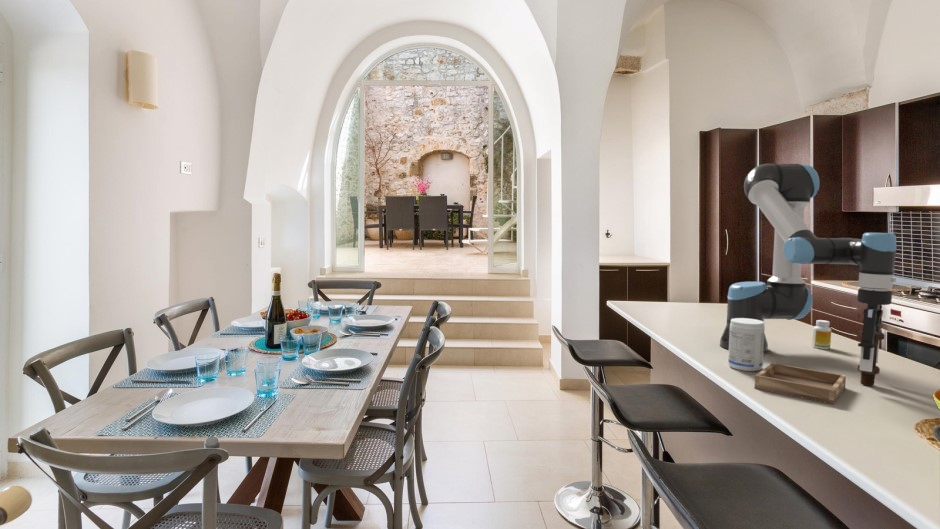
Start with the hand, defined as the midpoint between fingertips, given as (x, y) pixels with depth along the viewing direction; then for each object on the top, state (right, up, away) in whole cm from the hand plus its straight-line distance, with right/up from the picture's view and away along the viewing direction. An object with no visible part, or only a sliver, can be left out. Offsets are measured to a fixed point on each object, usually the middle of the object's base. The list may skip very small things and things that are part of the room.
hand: (868, 366), depth 150 cm
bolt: (0, -5, 0) cm, 5 cm away
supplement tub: (-26, -4, +16) cm, 31 cm away
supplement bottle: (+15, -2, +43) cm, 46 cm away
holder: (-21, -5, -3) cm, 22 cm away
